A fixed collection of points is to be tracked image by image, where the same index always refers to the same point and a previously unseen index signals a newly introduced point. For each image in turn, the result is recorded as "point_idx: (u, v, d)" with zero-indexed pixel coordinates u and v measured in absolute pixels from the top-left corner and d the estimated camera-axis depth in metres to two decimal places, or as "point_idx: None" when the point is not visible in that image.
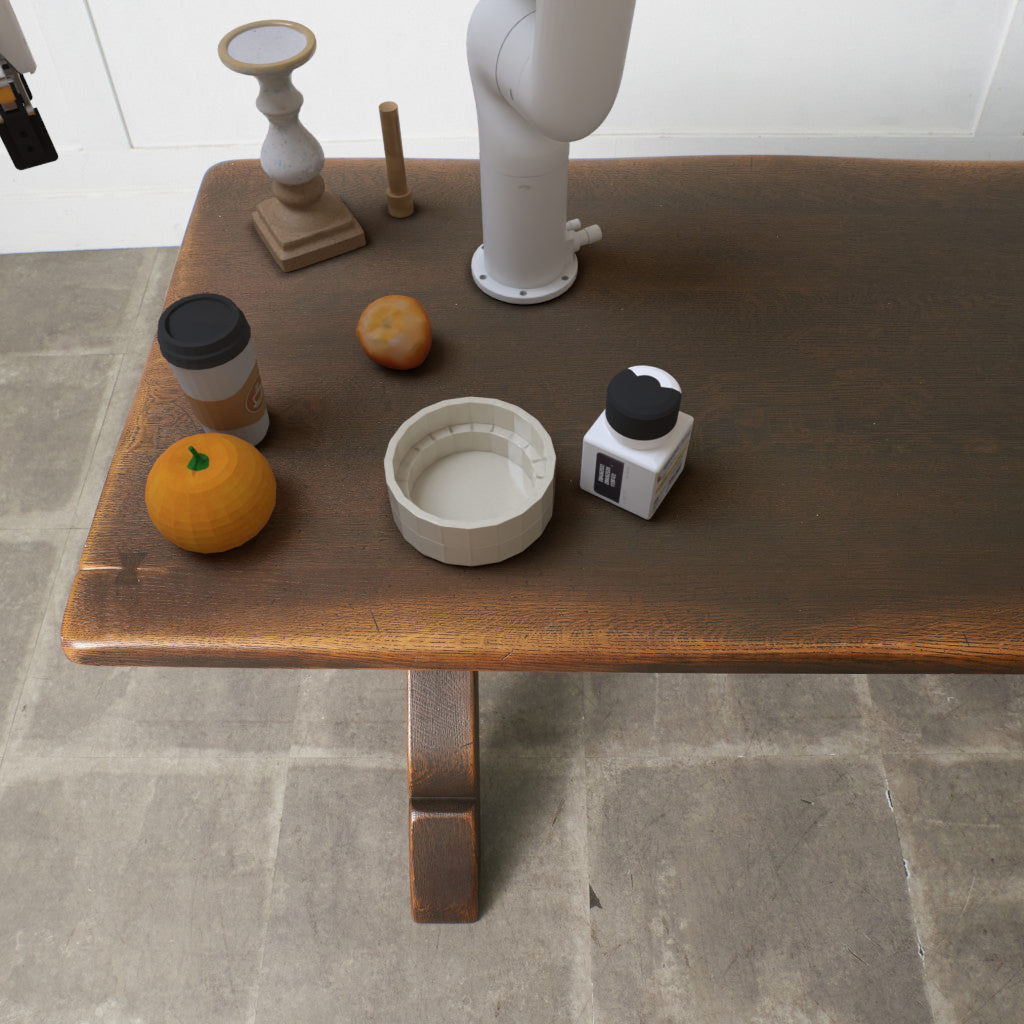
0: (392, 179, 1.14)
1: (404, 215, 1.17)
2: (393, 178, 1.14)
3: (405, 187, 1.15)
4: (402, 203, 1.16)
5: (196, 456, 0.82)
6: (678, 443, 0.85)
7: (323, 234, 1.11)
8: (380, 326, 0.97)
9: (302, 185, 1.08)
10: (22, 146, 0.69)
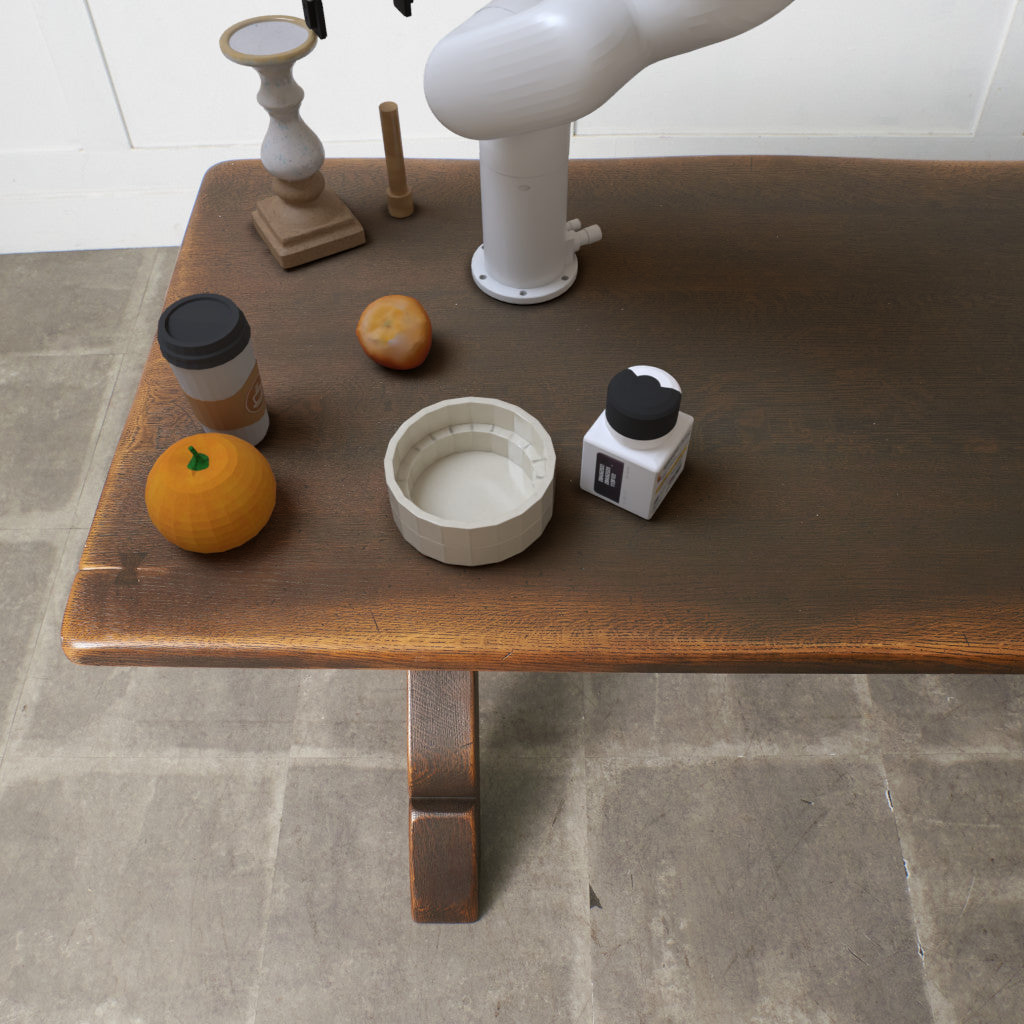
0: (392, 179, 1.14)
1: (404, 215, 1.17)
2: (393, 178, 1.14)
3: (405, 187, 1.15)
4: (402, 203, 1.16)
5: (196, 456, 0.82)
6: (678, 443, 0.85)
7: (323, 230, 1.11)
8: (380, 326, 0.97)
9: (302, 181, 1.08)
10: (304, 13, 0.95)
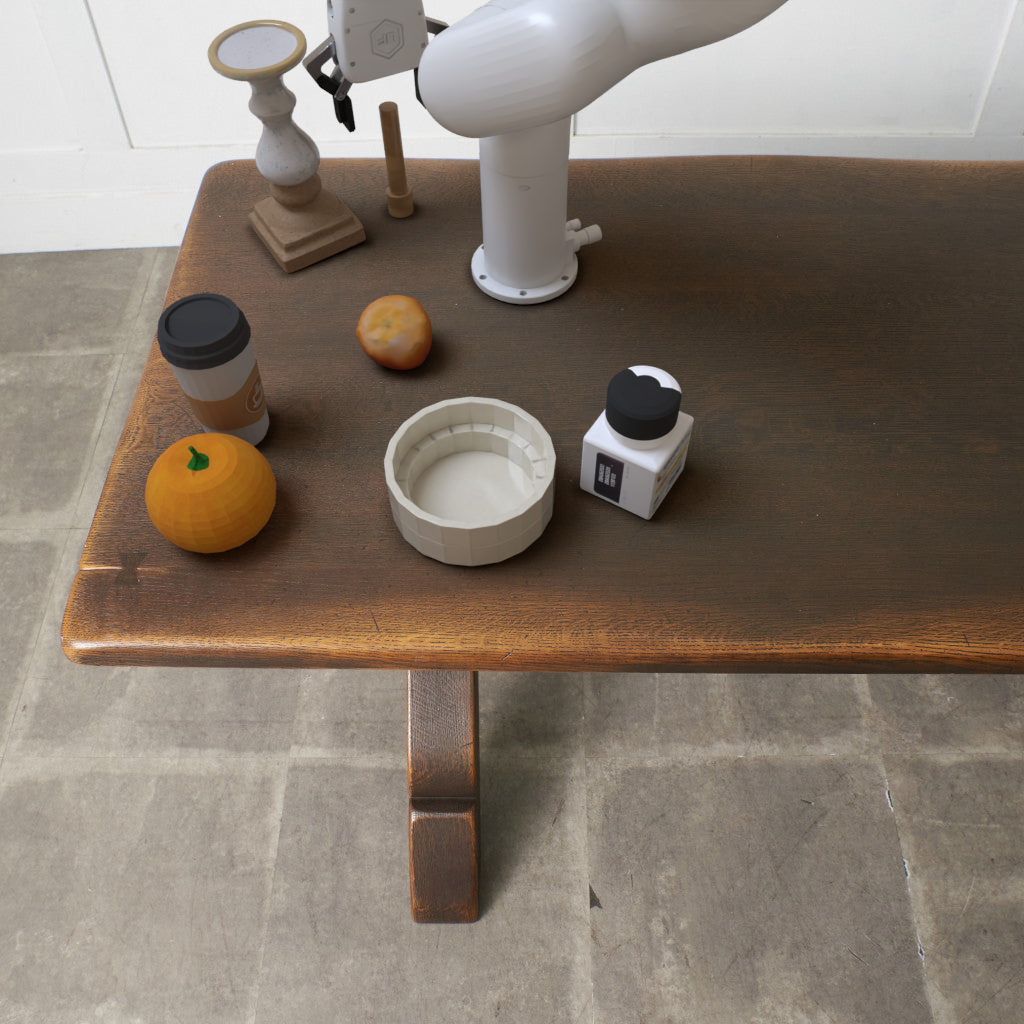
0: (392, 179, 1.14)
1: (404, 215, 1.17)
2: (393, 178, 1.14)
3: (405, 187, 1.15)
4: (402, 203, 1.16)
5: (196, 456, 0.82)
6: (678, 443, 0.85)
7: (324, 232, 1.11)
8: (380, 326, 0.97)
9: (299, 185, 1.07)
10: (335, 109, 1.05)
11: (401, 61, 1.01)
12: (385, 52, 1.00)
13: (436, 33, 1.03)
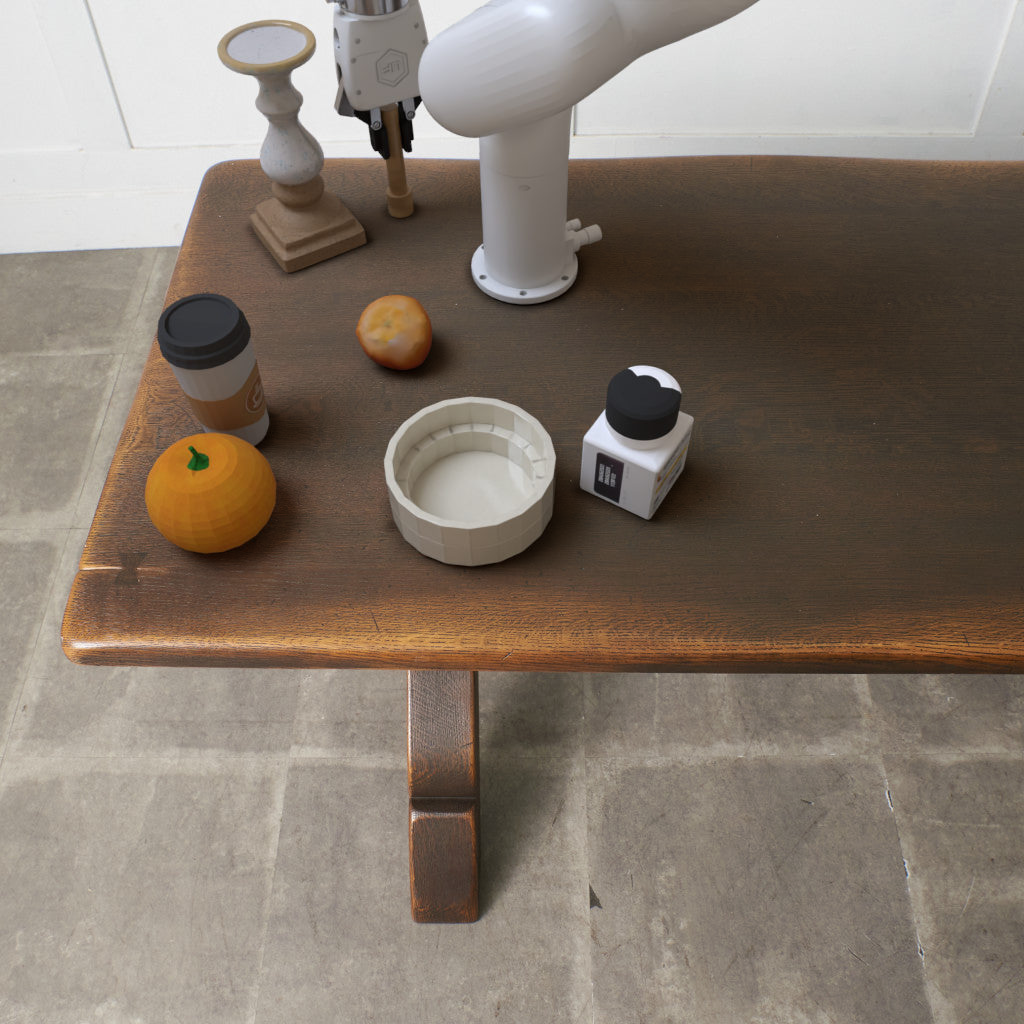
0: (392, 179, 1.14)
1: (404, 215, 1.17)
2: (393, 178, 1.14)
3: (405, 187, 1.15)
4: (402, 203, 1.16)
5: (196, 456, 0.82)
6: (678, 443, 0.85)
7: (325, 233, 1.11)
8: (380, 326, 0.97)
9: (303, 185, 1.08)
10: (371, 138, 1.10)
11: (406, 88, 1.04)
12: (390, 80, 1.02)
13: None
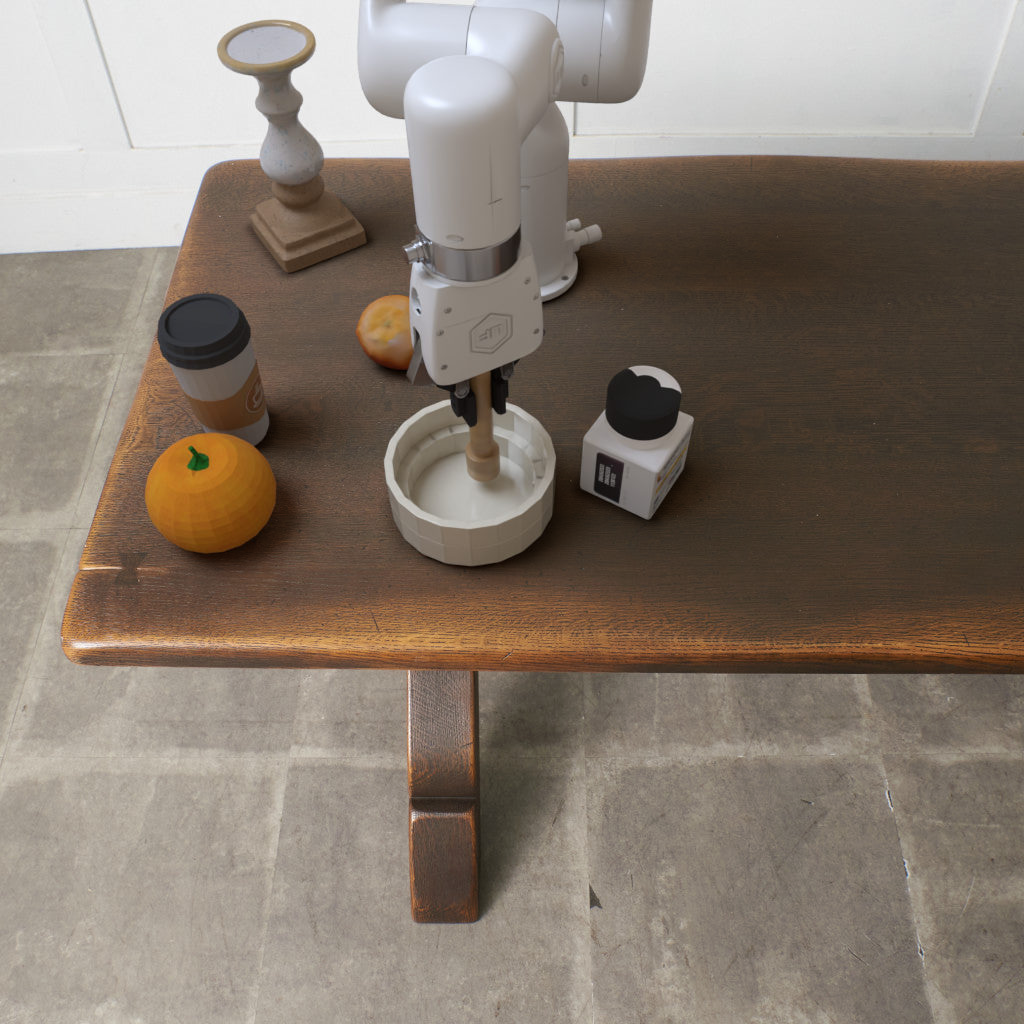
0: (477, 442, 0.85)
1: (489, 479, 0.89)
2: (477, 441, 0.85)
3: (492, 448, 0.86)
4: (487, 467, 0.87)
5: (196, 456, 0.82)
6: (678, 443, 0.85)
7: (325, 233, 1.11)
8: (380, 326, 0.97)
9: (303, 185, 1.08)
10: (452, 400, 0.81)
11: (507, 353, 0.75)
12: (487, 347, 0.73)
13: None
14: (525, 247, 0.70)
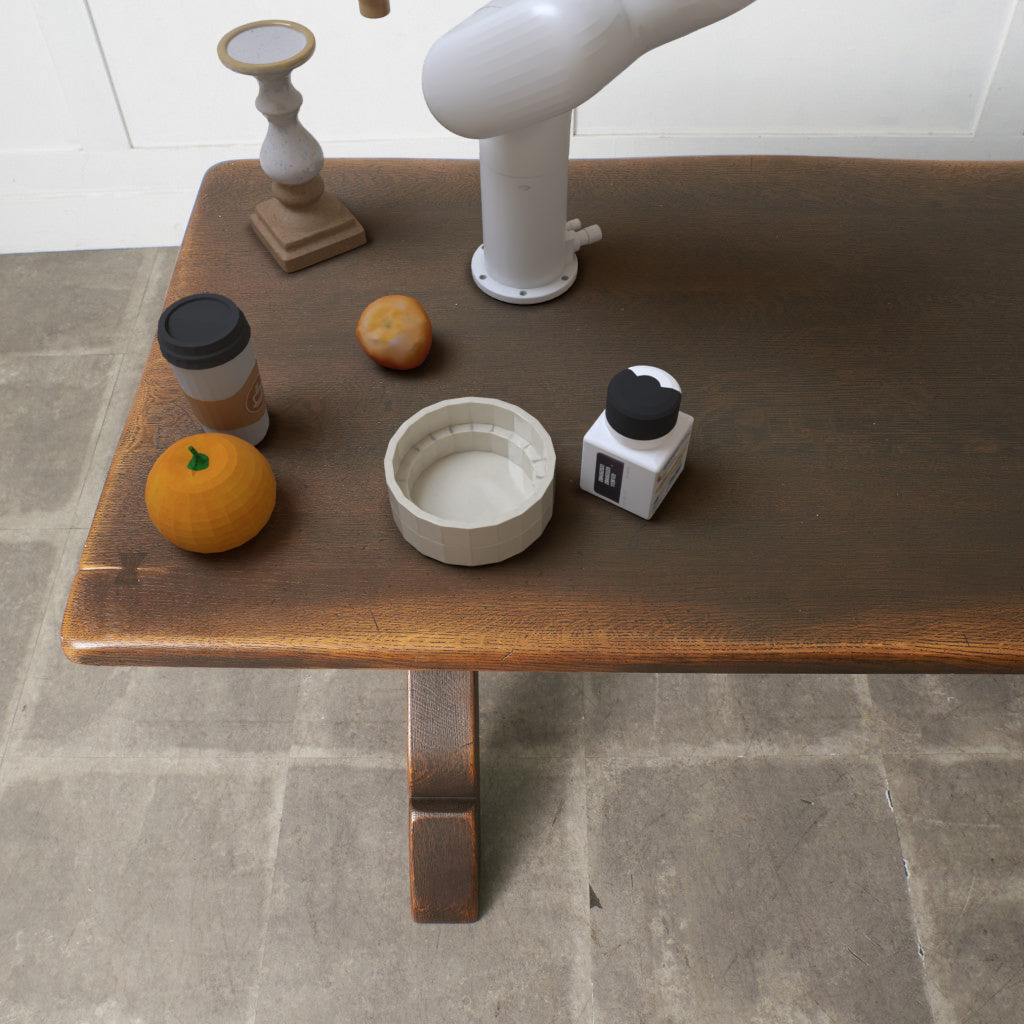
0: None
1: (379, 15, 0.96)
2: None
3: None
4: None
5: (196, 456, 0.82)
6: (678, 443, 0.85)
7: (325, 233, 1.11)
8: (380, 326, 0.97)
9: (302, 185, 1.08)
10: None
11: None
12: None
13: None
14: None
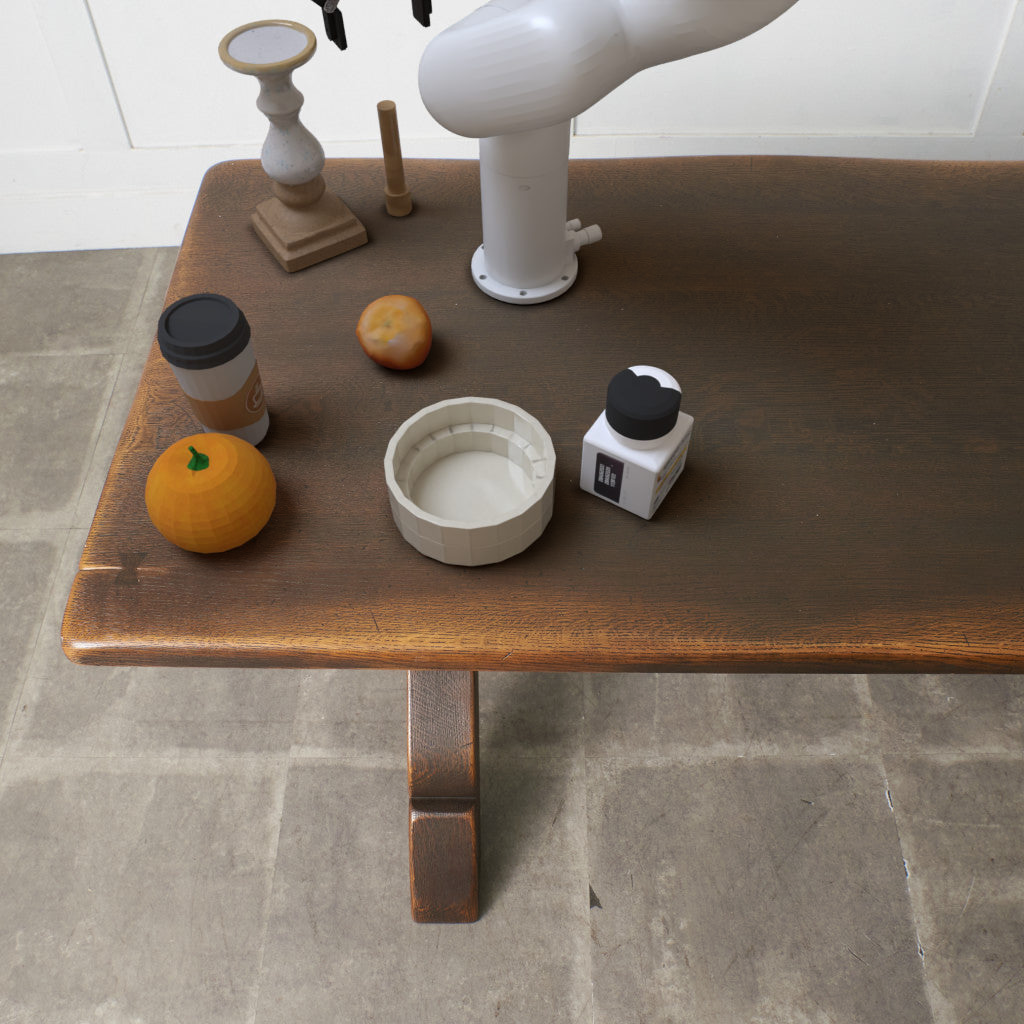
0: (391, 178, 1.14)
1: (402, 214, 1.18)
2: (391, 176, 1.14)
3: (403, 186, 1.15)
4: (400, 202, 1.16)
5: (196, 456, 0.82)
6: (678, 443, 0.85)
7: (326, 232, 1.11)
8: (380, 326, 0.97)
9: (304, 185, 1.08)
10: (325, 25, 0.97)
11: None
12: None
13: None
14: None
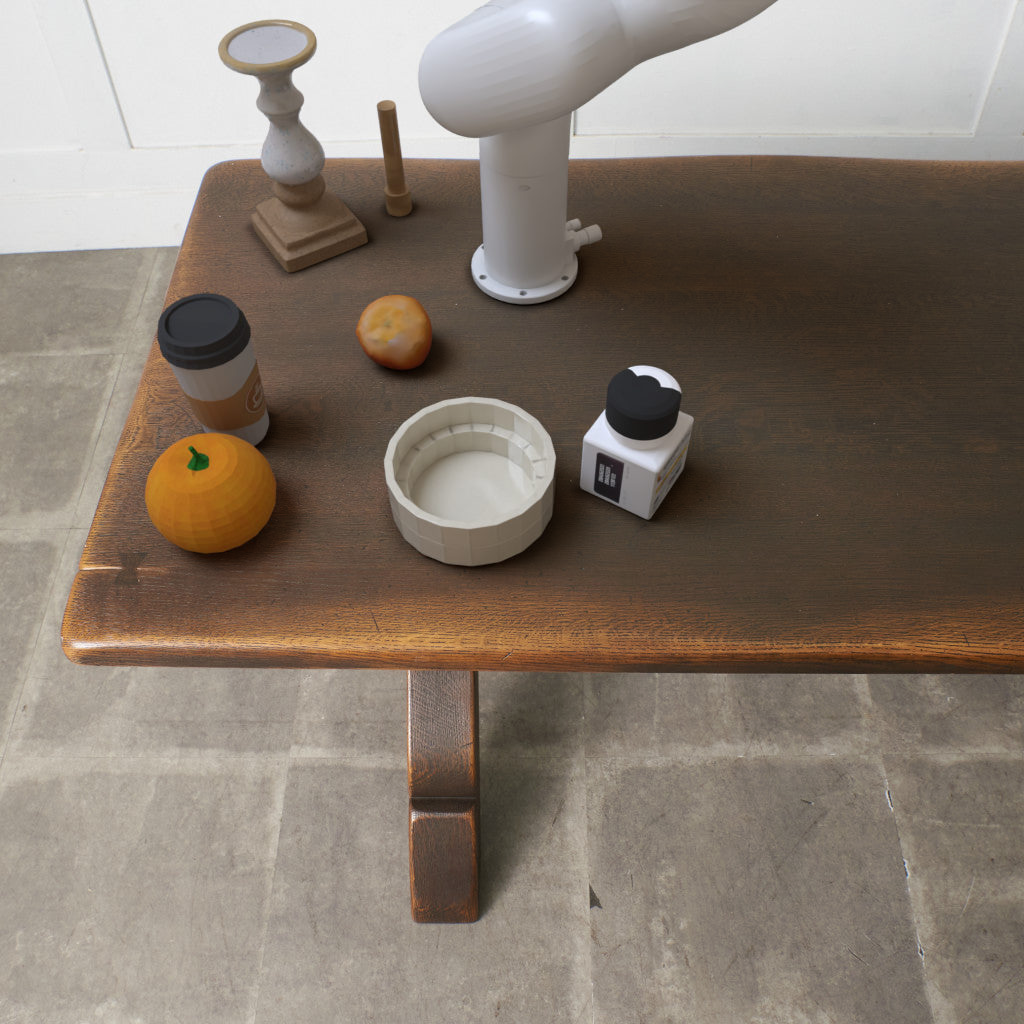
0: (391, 178, 1.14)
1: (402, 214, 1.18)
2: (391, 176, 1.14)
3: (403, 186, 1.15)
4: (400, 202, 1.16)
5: (196, 456, 0.82)
6: (678, 443, 0.85)
7: (326, 232, 1.11)
8: (380, 326, 0.97)
9: (304, 184, 1.08)
10: None
11: None
12: None
13: None
14: None
